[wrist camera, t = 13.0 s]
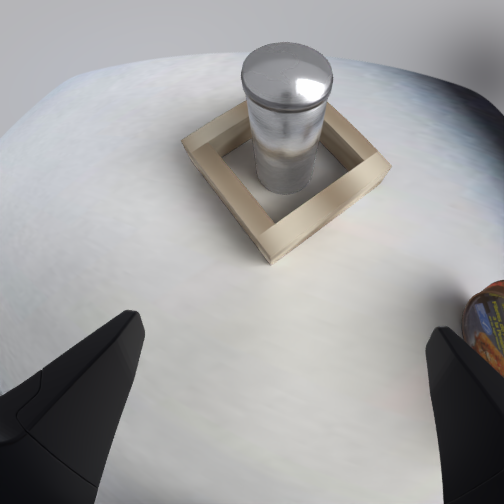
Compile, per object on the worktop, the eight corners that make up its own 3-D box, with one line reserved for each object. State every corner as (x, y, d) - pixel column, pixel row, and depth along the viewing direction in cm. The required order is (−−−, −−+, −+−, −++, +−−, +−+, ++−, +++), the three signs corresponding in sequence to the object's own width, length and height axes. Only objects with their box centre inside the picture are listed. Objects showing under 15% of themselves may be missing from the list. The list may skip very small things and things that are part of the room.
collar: (271, 265, 22) (270, 256, 19) (190, 159, 25) (180, 140, 22) (380, 183, 23) (391, 166, 20) (294, 96, 25) (295, 74, 22)
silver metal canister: (260, 200, 23) (247, 107, 13) (251, 149, 24) (234, 47, 14) (319, 190, 23) (346, 95, 12) (306, 141, 24) (318, 38, 13)
